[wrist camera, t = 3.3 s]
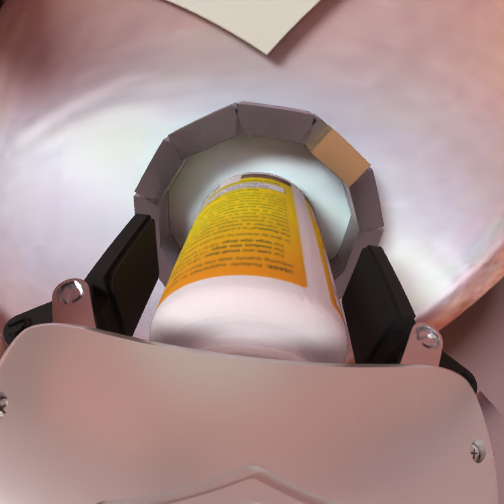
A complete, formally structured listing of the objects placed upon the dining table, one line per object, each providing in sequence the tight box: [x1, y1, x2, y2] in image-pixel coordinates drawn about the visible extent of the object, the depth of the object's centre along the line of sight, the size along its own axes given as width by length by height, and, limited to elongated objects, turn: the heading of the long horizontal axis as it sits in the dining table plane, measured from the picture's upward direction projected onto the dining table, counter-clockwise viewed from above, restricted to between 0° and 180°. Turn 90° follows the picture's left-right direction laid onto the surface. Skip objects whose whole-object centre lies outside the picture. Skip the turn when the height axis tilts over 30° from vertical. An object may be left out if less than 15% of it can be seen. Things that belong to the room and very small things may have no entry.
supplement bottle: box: [150, 172, 347, 363], centre depth 9 cm, size 6×6×10 cm
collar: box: [134, 102, 384, 299], centre depth 13 cm, size 11×11×2 cm
